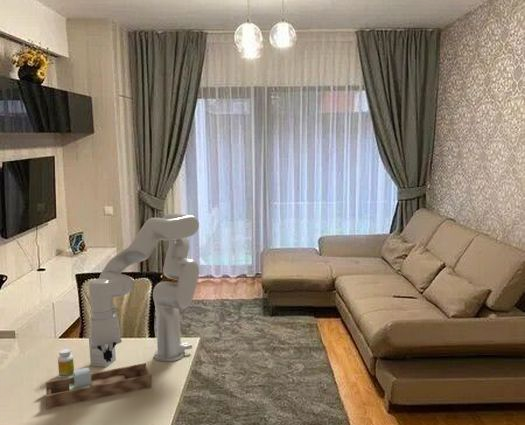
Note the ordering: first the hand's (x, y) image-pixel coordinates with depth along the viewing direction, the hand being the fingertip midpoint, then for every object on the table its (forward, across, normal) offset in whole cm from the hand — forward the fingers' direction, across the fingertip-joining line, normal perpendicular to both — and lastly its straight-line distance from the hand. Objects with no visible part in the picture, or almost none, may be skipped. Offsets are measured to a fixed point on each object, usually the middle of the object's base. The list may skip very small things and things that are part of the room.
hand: (108, 360), depth 176 cm
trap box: (+9, +4, +3) cm, 11 cm away
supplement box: (+10, 0, -20) cm, 22 cm away
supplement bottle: (+9, +15, -15) cm, 23 cm away
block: (+6, +10, +4) cm, 12 cm away
